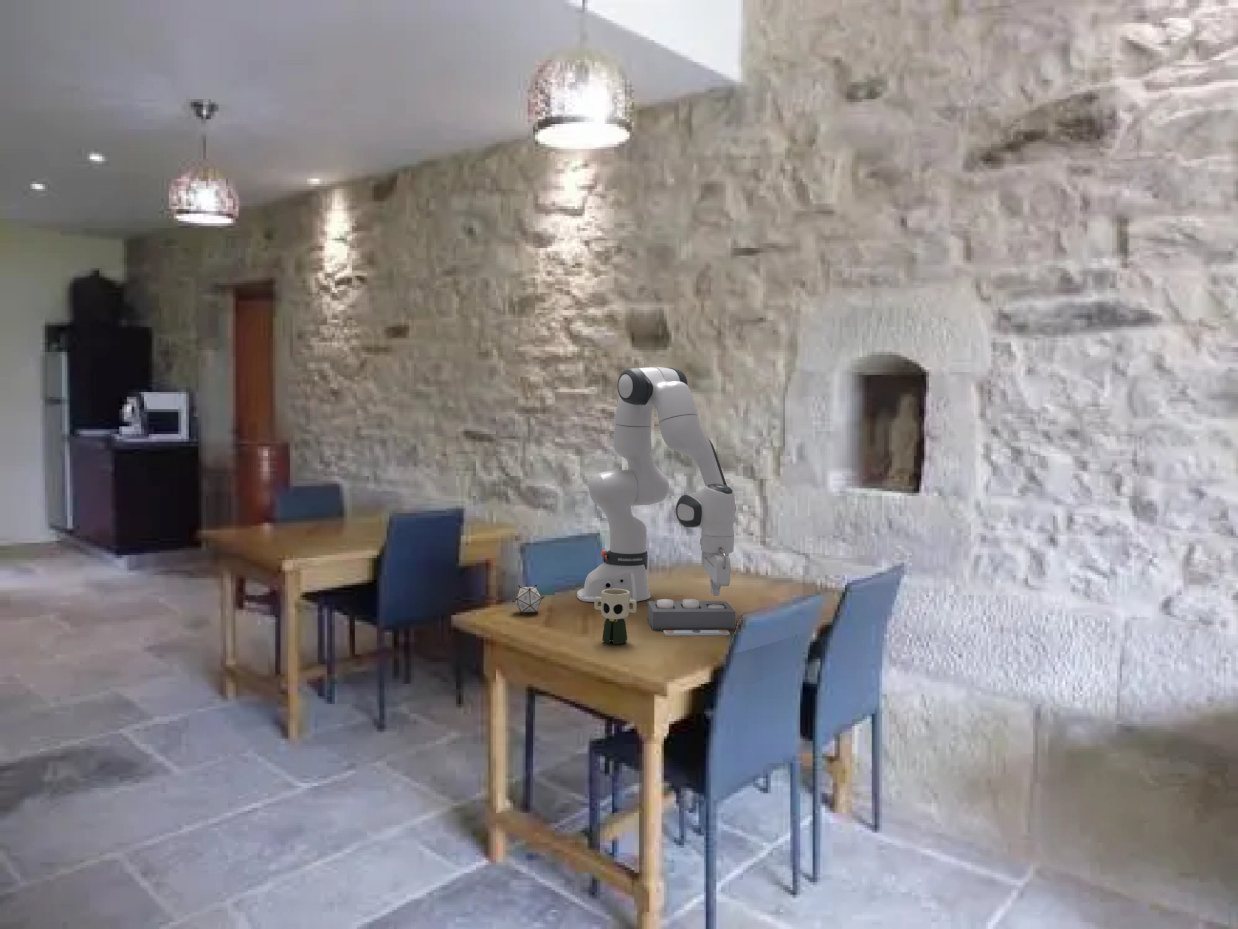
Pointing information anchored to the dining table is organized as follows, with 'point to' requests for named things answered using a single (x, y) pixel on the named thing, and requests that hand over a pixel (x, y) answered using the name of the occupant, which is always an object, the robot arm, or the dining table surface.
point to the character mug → (615, 613)
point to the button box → (692, 617)
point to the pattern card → (695, 632)
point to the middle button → (690, 603)
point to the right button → (715, 606)
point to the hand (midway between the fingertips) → (715, 594)
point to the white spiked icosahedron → (528, 599)
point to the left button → (664, 604)
